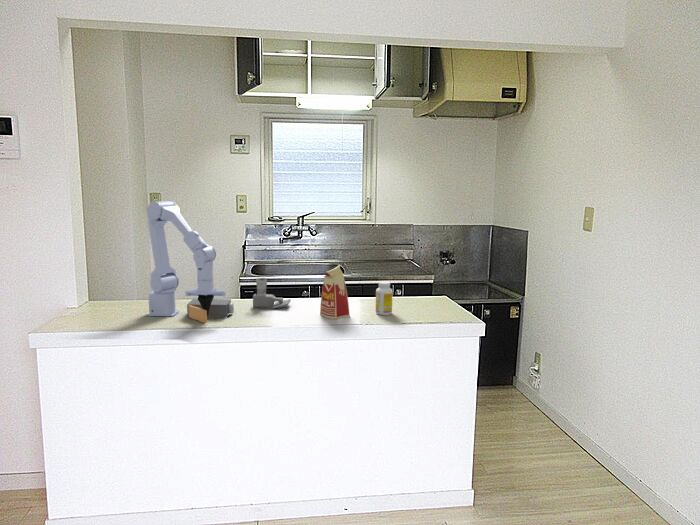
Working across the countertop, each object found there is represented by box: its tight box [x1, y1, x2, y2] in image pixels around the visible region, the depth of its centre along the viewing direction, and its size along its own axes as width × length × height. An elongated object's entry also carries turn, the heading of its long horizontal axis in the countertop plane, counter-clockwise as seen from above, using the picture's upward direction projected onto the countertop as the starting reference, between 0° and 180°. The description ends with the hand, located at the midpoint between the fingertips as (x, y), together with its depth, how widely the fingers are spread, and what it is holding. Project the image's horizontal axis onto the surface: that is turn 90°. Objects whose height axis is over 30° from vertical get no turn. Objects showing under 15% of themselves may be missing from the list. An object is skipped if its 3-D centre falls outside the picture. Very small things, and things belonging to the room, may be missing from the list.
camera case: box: [186, 298, 235, 318], centre depth 209 cm, size 17×9×5 cm, turn 92°
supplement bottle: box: [375, 280, 393, 316], centre depth 214 cm, size 7×7×13 cm
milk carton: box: [319, 264, 351, 320], centre depth 208 cm, size 9×9×20 cm
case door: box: [187, 305, 208, 323], centre depth 200 cm, size 11×1×5 cm, turn 49°
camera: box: [252, 277, 291, 310], centre depth 221 cm, size 9×12×15 cm
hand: (206, 314), depth 200 cm, fingers closed
